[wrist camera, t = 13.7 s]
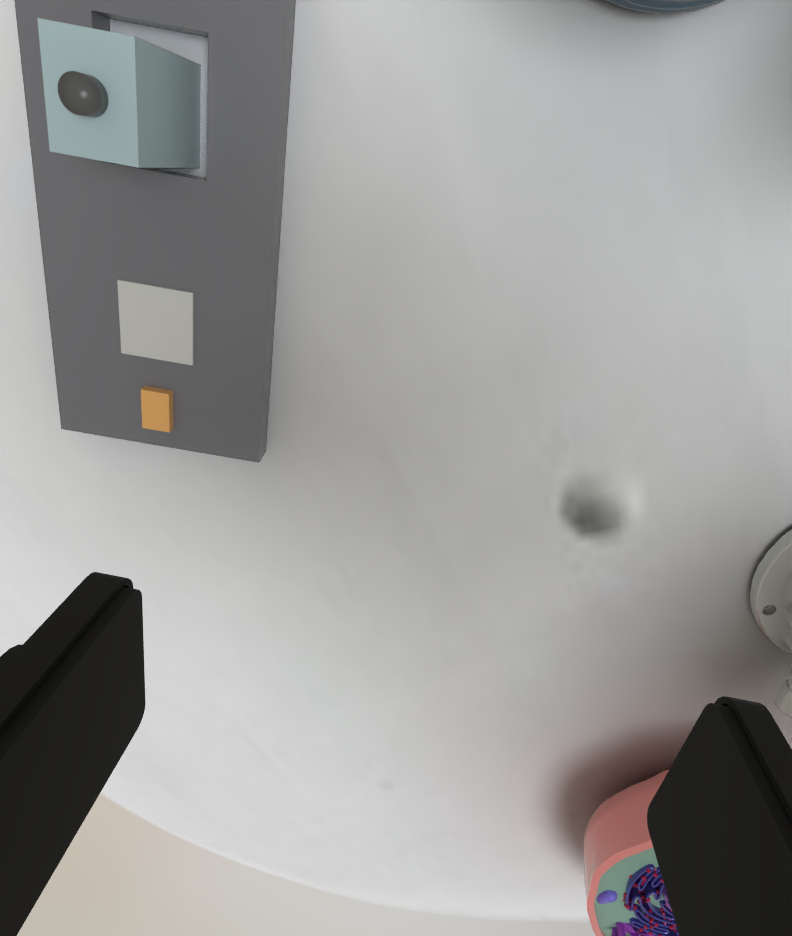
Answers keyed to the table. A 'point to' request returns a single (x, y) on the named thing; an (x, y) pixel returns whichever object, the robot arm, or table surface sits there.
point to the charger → (119, 98)
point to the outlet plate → (169, 241)
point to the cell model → (625, 867)
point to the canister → (663, 5)
